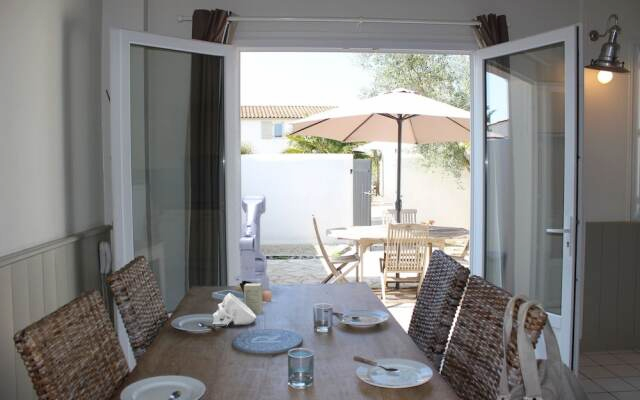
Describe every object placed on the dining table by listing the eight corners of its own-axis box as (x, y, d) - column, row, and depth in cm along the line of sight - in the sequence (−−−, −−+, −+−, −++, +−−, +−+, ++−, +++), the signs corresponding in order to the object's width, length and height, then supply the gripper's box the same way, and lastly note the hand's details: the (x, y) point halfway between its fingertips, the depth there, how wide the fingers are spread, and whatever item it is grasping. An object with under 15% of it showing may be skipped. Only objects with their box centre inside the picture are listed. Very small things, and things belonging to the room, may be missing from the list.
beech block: (240, 293, 259) (240, 284, 259) (247, 294, 257) (247, 285, 257) (234, 295, 256) (234, 286, 256) (242, 296, 254) (242, 286, 254)
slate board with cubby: (240, 295, 263) (240, 287, 262) (277, 304, 246) (277, 295, 246) (212, 301, 252) (212, 292, 252) (249, 310, 235) (249, 301, 235)
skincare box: (263, 315, 228) (262, 283, 227) (260, 318, 224) (260, 285, 223) (246, 314, 229) (246, 282, 228) (243, 317, 224) (243, 285, 224)
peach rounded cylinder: (266, 299, 248) (266, 289, 248) (273, 301, 245) (273, 291, 245) (259, 301, 245) (259, 291, 245) (266, 302, 242) (266, 292, 242)
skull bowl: (208, 317, 219) (226, 288, 220) (241, 336, 221) (259, 308, 221) (206, 324, 209) (225, 294, 209) (240, 345, 211) (259, 315, 211)
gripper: (228, 265, 244) (228, 299, 244) (252, 270, 234) (252, 304, 235) (242, 263, 249) (242, 296, 250) (265, 267, 239) (265, 301, 240)
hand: (248, 300), depth 242 cm, fingers closed
